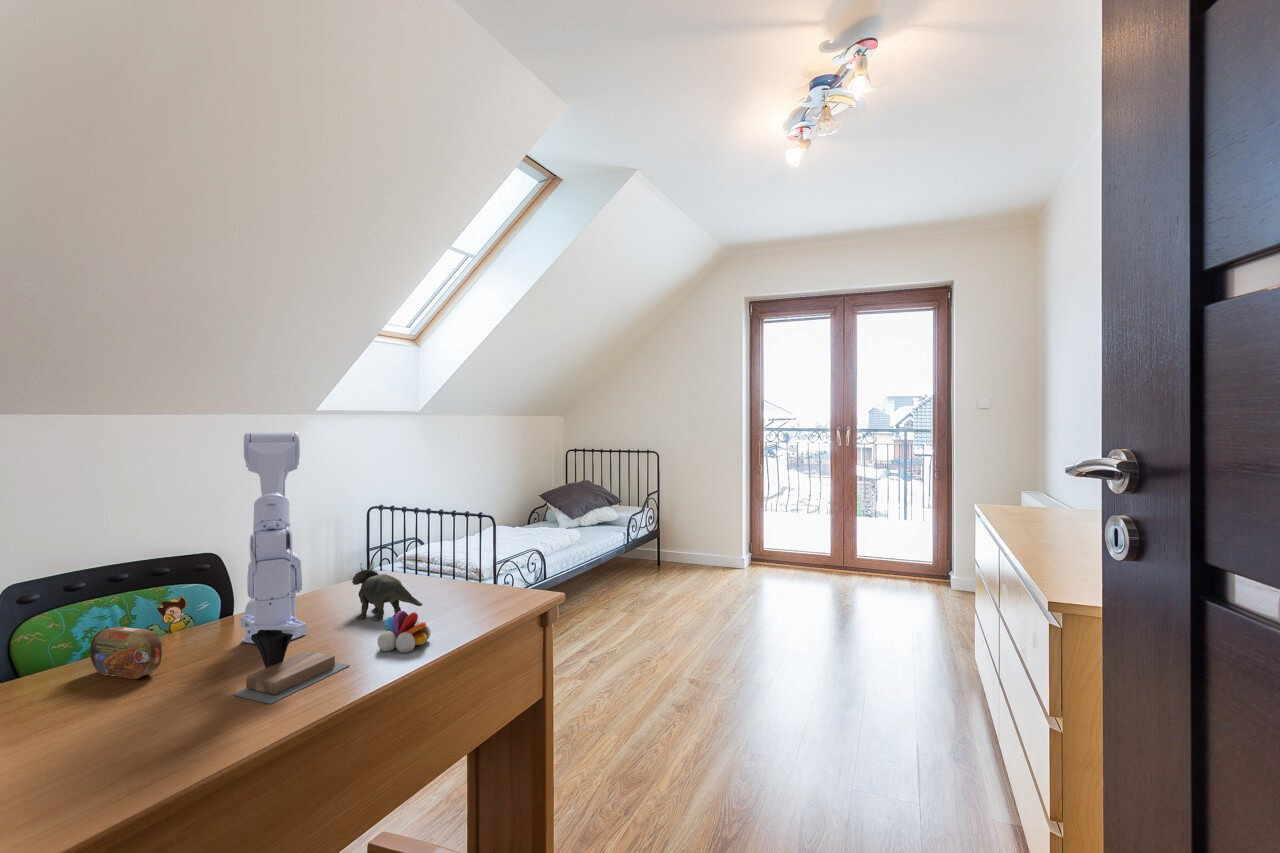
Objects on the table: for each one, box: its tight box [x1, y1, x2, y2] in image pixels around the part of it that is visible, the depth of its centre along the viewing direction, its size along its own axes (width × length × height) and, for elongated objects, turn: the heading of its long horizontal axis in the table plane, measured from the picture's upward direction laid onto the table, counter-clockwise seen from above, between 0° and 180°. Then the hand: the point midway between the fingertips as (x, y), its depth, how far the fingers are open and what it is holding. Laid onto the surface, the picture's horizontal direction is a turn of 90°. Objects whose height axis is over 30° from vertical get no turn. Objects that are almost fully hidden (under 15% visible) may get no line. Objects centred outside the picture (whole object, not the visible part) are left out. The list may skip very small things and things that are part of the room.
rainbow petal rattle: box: [377, 610, 431, 654], centre depth 124 cm, size 8×10×7 cm
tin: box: [89, 626, 163, 680], centre depth 111 cm, size 15×3×8 cm, turn 74°
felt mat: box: [232, 661, 351, 705], centre depth 108 cm, size 9×16×1 cm, turn 158°
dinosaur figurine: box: [351, 560, 424, 621], centre depth 142 cm, size 22×8×11 cm, turn 58°
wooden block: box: [245, 650, 336, 694], centre depth 108 cm, size 2×12×7 cm
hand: (274, 670), depth 110 cm, fingers closed
